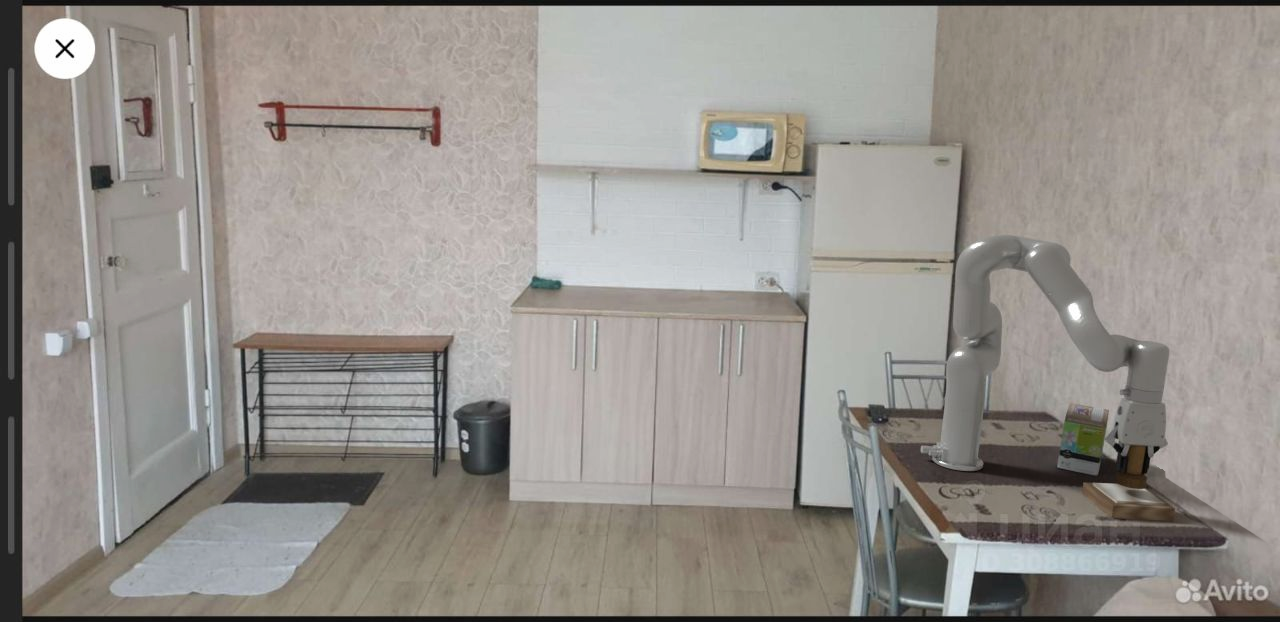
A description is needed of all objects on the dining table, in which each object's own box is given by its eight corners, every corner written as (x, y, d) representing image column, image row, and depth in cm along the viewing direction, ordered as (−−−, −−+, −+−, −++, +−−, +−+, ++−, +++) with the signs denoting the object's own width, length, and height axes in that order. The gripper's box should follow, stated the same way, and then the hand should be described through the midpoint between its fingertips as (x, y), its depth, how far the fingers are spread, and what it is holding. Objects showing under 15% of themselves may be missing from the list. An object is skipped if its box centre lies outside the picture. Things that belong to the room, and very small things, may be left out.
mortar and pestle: (1151, 490, 204) (1163, 414, 201) (1123, 488, 204) (1134, 413, 201) (1136, 479, 211) (1147, 406, 207) (1109, 478, 211) (1119, 404, 208)
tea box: (1099, 477, 228) (1107, 421, 226) (1056, 468, 233) (1064, 414, 230) (1101, 460, 241) (1109, 408, 239) (1061, 452, 246) (1068, 401, 243)
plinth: (1111, 517, 202) (1113, 502, 201) (1081, 494, 215) (1083, 480, 215) (1173, 520, 202) (1175, 505, 201) (1139, 497, 216) (1141, 482, 215)
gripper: (1115, 398, 200) (1103, 475, 203) (1189, 401, 200) (1176, 479, 203) (1098, 389, 207) (1087, 463, 211) (1170, 392, 207) (1158, 467, 211)
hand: (1131, 470), depth 207 cm, fingers closed on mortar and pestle, 4 cm apart
